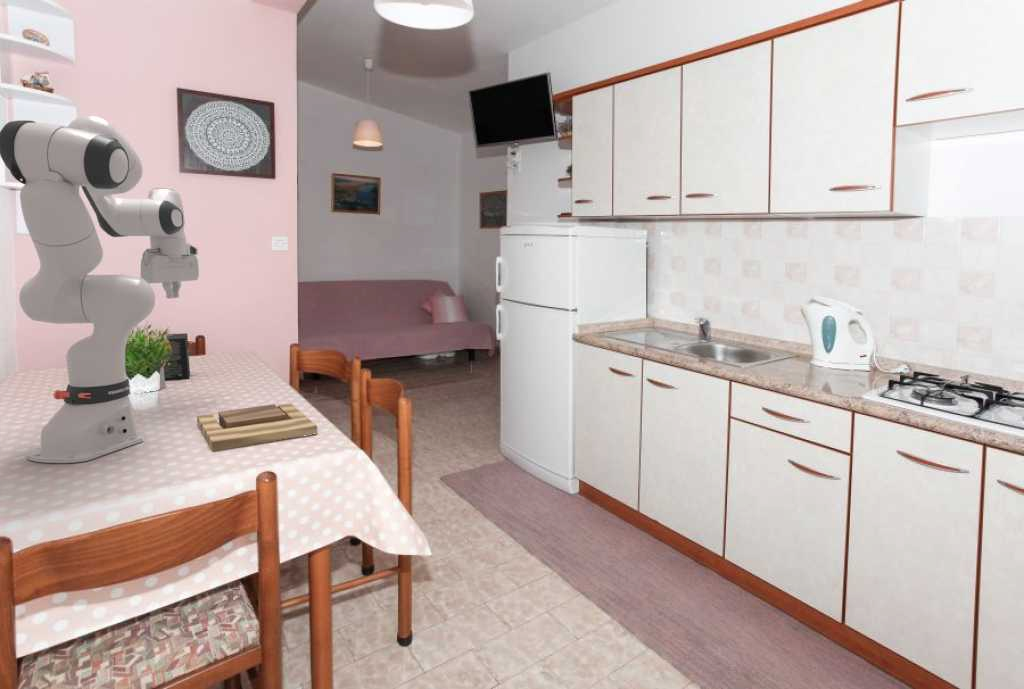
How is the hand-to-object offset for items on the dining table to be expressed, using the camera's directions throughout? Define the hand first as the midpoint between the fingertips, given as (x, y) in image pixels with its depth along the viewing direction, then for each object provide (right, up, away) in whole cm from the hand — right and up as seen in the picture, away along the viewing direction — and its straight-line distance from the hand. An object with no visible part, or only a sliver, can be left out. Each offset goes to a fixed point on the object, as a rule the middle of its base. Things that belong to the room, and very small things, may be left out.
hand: (172, 298), depth 172 cm
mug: (-21, -28, +21) cm, 41 cm away
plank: (+26, -32, -10) cm, 42 cm away
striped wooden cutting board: (+31, -35, -18) cm, 50 cm away
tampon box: (-21, -25, +39) cm, 51 cm away
